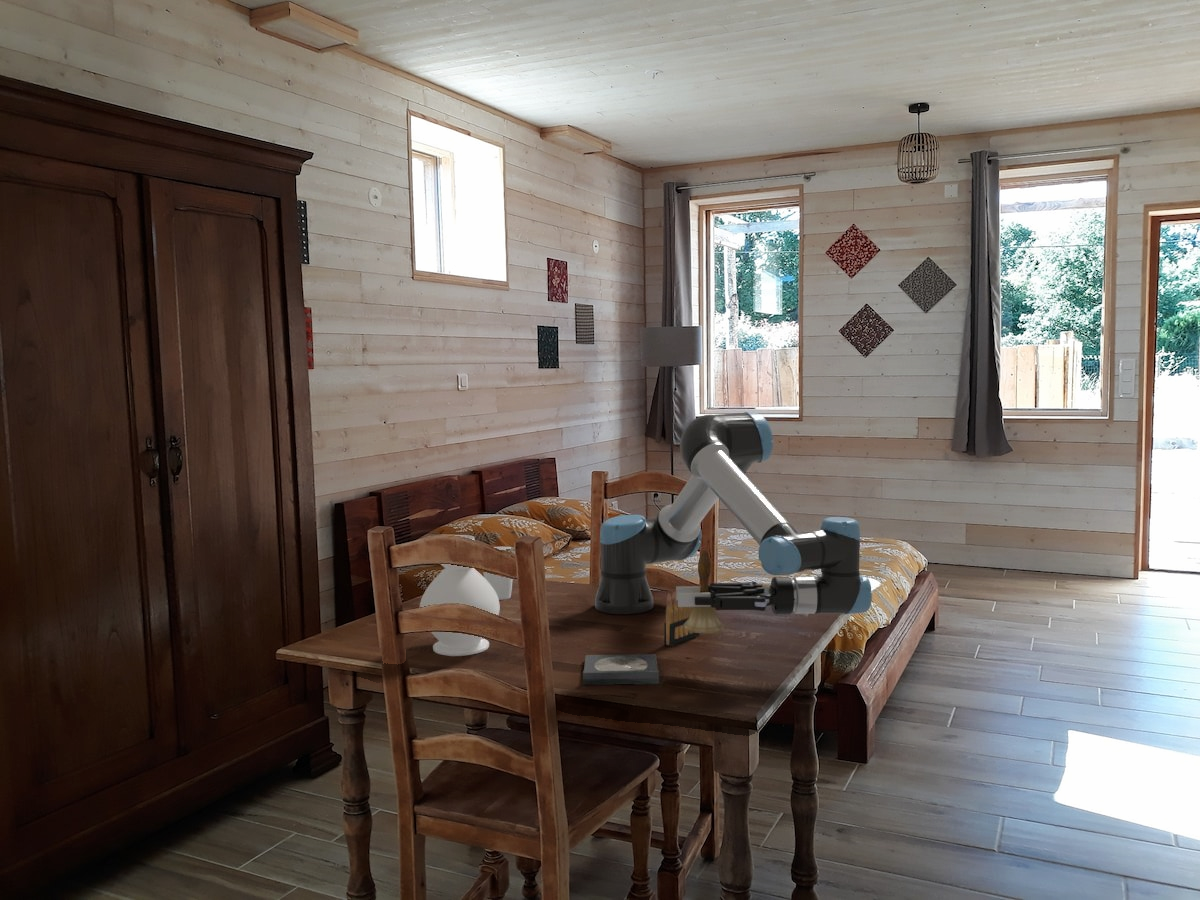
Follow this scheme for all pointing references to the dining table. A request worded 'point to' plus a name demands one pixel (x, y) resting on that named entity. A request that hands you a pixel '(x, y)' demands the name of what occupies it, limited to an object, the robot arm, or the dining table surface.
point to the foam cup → (500, 582)
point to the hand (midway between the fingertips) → (677, 596)
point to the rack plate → (620, 669)
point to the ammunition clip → (676, 622)
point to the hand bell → (703, 616)
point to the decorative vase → (461, 589)
